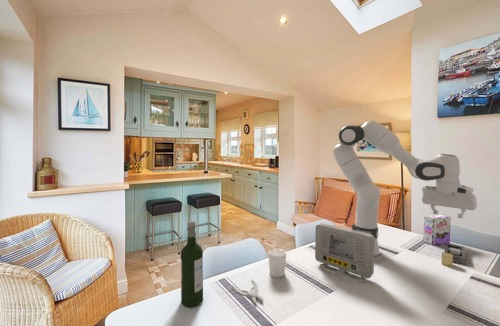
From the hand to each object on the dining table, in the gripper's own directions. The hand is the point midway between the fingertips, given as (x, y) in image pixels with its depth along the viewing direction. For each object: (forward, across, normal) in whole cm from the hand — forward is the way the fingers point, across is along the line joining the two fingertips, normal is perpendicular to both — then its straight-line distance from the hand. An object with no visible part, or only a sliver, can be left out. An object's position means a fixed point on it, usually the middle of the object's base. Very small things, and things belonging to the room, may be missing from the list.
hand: (447, 216), depth 113 cm
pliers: (+23, -37, -92) cm, 101 cm away
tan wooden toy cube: (+25, -1, +2) cm, 25 cm away
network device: (+23, -26, -47) cm, 59 cm away
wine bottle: (+22, -45, -112) cm, 123 cm away
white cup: (+22, -42, -73) cm, 87 cm away
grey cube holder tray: (+25, -2, +17) cm, 30 cm away
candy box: (+25, -14, +32) cm, 43 cm away
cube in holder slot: (+25, 0, +12) cm, 28 cm away
